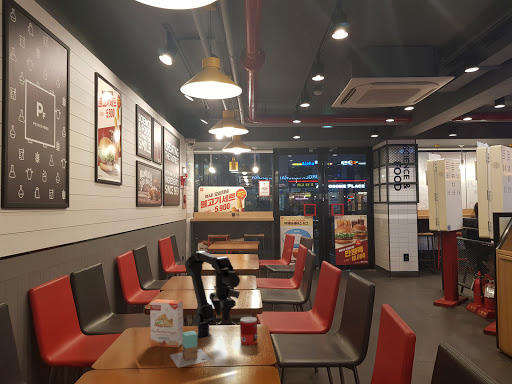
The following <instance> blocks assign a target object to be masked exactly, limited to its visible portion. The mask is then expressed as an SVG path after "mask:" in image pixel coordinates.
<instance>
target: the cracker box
mask: <svg viewBox="0 0 512 384" xmlns="http://www.w3.org/2000/svg"><path fill="white" fill-rule="evenodd" d="M183 304H184V301H183V300H182V299H181V300H179V299H177V300H176V299H161V298H160V299H158V298H156V299H154V300H152V301H150V304H149V305H150V311H149V313H150V314H149V315H150V348H154V347H166V348H167V347H168V348H169V347H170V348H179V347H180V346H182V333H183V332H184V305H183Z"/></svg>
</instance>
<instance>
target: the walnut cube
mask: <svg viewBox="0 0 512 384" xmlns="http://www.w3.org/2000/svg"><path fill="white" fill-rule="evenodd" d="M181 346H182V348H181V349H182V351H181V352H182V357H183V358H184V359H185V361H188V360H193V359H197V349H198V345H197V346H196V347H191V348H185V347H184V346H183V345H181Z"/></svg>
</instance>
